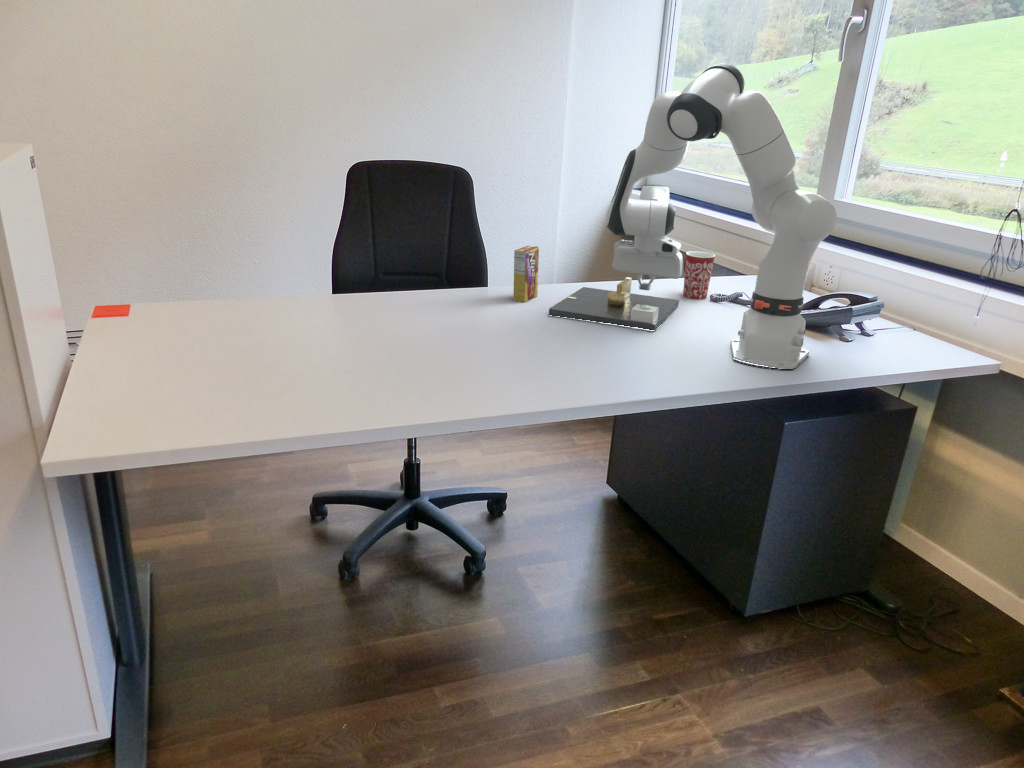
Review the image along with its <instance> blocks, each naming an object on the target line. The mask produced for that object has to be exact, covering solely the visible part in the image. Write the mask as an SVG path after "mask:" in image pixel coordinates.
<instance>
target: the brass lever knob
mask: <svg viewBox="0 0 1024 768" xmlns="http://www.w3.org/2000/svg"><path fill="white" fill-rule="evenodd" d="M632 279H633V277H628V276H627V277H625V278H624V279H623V280H622V281H621V282H619V283H618V284H617V285H616V290H610V291H611V292H609V293H608V304H610V305H614V306H623V305H625V300H626V298H627V297H628V296H630V293H631V289H632Z"/></svg>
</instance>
